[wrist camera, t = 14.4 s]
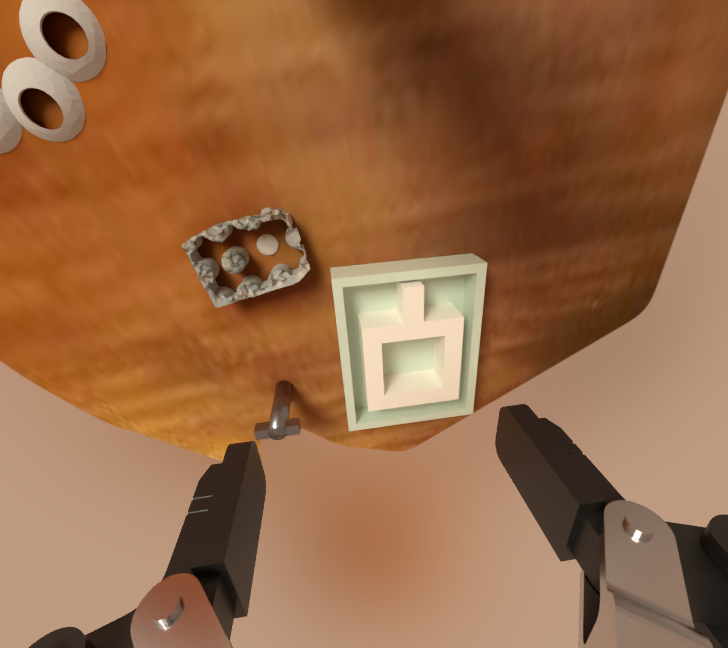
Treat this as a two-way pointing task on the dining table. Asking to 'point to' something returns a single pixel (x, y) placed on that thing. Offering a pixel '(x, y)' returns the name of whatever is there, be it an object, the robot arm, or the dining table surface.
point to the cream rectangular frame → (410, 325)
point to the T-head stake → (279, 416)
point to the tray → (376, 293)
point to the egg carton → (246, 258)
